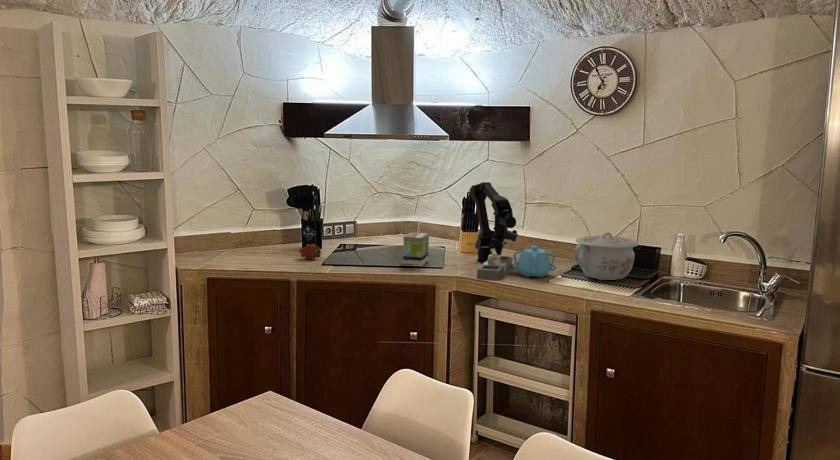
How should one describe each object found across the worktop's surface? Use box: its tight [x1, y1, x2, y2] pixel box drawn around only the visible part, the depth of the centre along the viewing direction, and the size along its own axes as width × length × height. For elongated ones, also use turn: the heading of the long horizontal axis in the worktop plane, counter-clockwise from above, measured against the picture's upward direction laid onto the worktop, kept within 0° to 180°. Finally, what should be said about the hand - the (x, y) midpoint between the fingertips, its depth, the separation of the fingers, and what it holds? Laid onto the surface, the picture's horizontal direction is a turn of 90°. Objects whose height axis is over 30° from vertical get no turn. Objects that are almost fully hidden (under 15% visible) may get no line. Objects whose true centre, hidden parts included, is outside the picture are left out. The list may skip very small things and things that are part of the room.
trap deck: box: [476, 255, 513, 281], centre depth 313 cm, size 10×34×4 cm, turn 162°
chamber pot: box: [573, 232, 639, 280], centre depth 300 cm, size 28×28×21 cm
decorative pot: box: [511, 245, 556, 279], centre depth 304 cm, size 16×16×14 cm
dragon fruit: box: [298, 243, 322, 260], centre depth 336 cm, size 8×8×12 cm
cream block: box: [488, 253, 502, 265], centre depth 309 cm, size 5×5×4 cm
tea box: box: [402, 232, 430, 265], centre depth 326 cm, size 15×10×15 cm
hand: (499, 257), depth 321 cm, fingers closed
